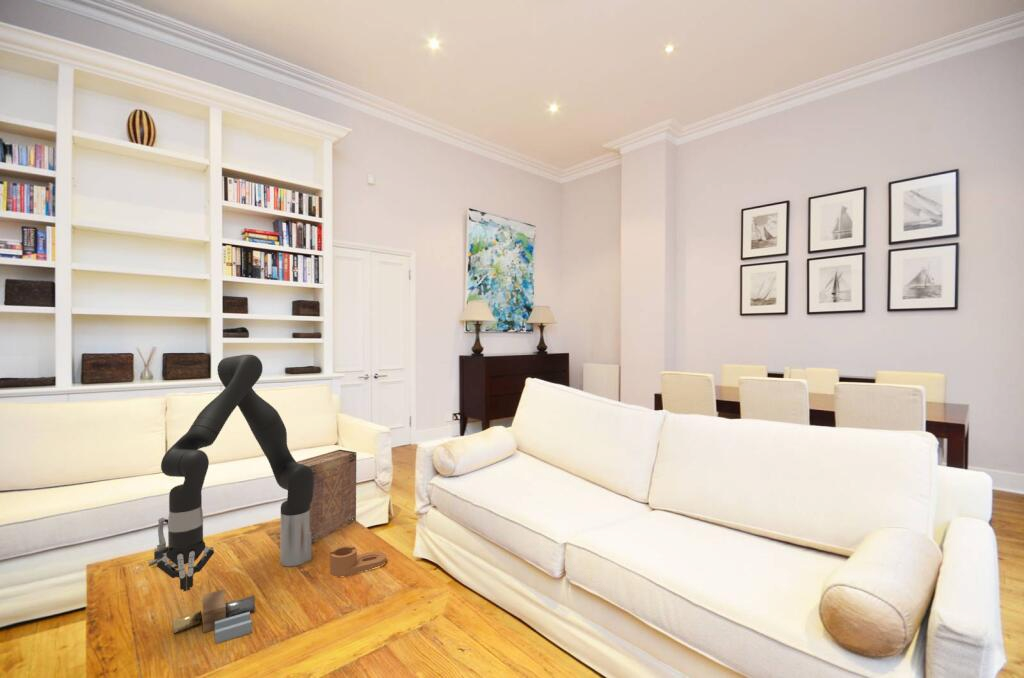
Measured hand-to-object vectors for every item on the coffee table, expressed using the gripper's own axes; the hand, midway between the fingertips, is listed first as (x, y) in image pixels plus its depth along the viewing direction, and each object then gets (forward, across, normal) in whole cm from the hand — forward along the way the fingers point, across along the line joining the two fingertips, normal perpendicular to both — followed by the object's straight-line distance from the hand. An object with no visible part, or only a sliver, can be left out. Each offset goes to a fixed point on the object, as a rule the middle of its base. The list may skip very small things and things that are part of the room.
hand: (186, 589), depth 122 cm
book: (+11, -44, -41) cm, 61 cm away
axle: (+11, -11, 0) cm, 15 cm away
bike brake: (+11, +6, -43) cm, 45 cm away
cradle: (+10, -10, +9) cm, 17 cm away
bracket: (+11, -47, -6) cm, 49 cm away
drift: (+9, 0, +1) cm, 9 cm away
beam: (+10, -6, 0) cm, 12 cm away
